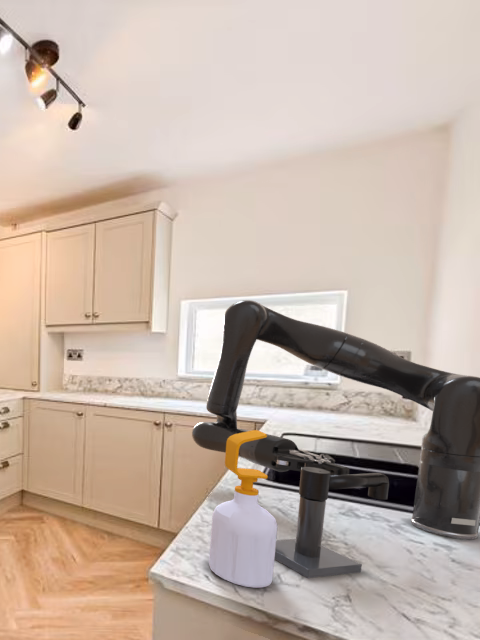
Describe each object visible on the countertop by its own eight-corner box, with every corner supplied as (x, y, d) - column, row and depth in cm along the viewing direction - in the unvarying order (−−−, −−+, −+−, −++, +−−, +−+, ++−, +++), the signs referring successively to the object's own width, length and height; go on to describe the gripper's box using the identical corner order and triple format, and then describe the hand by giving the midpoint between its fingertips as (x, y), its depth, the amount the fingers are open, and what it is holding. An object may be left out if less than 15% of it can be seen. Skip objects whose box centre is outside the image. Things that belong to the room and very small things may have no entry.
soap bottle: (283, 592, 66) (298, 439, 64) (220, 585, 68) (232, 435, 66) (256, 563, 75) (269, 427, 72) (201, 557, 77) (211, 424, 74)
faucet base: (304, 544, 82) (310, 486, 81) (361, 572, 73) (368, 507, 71) (256, 549, 80) (262, 489, 79) (307, 578, 71) (315, 510, 69)
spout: (370, 492, 80) (374, 463, 80) (395, 500, 76) (399, 470, 76) (292, 497, 77) (295, 467, 76) (314, 506, 73) (317, 474, 72)
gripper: (243, 435, 96) (319, 455, 79) (292, 434, 99) (375, 453, 82) (241, 467, 97) (315, 494, 80) (289, 465, 100) (371, 490, 83)
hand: (345, 473), depth 81 cm, fingers closed
